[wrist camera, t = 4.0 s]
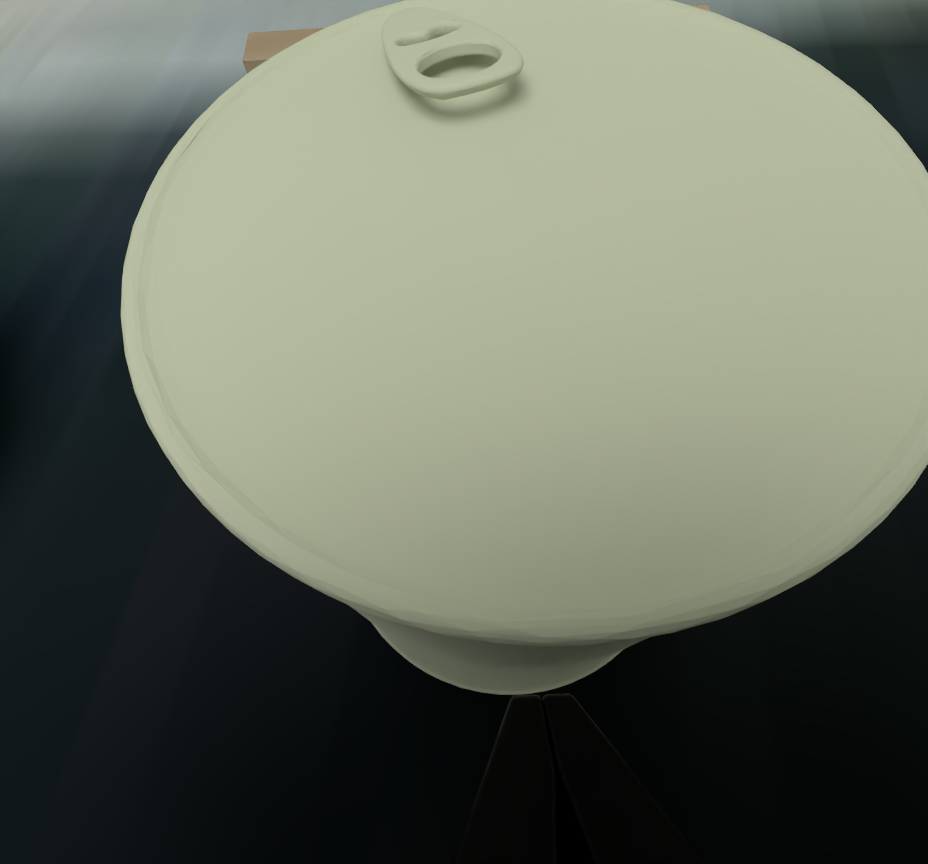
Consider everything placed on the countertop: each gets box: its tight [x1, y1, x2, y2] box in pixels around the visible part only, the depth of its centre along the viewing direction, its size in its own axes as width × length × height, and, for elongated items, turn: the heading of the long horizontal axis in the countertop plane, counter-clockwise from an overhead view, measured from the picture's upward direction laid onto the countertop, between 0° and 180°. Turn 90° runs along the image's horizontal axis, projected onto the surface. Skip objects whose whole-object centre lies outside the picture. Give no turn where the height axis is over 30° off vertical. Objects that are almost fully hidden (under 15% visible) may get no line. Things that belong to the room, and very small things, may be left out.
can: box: [121, 0, 928, 695], centre depth 11 cm, size 9×9×12 cm
